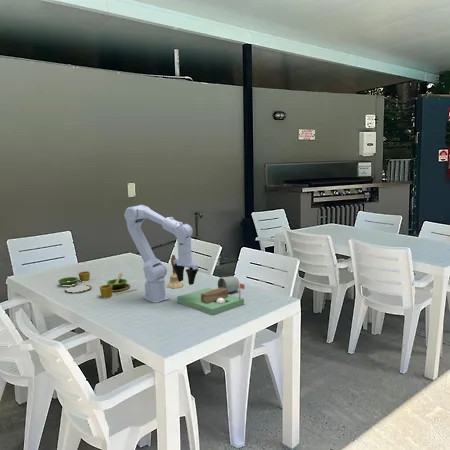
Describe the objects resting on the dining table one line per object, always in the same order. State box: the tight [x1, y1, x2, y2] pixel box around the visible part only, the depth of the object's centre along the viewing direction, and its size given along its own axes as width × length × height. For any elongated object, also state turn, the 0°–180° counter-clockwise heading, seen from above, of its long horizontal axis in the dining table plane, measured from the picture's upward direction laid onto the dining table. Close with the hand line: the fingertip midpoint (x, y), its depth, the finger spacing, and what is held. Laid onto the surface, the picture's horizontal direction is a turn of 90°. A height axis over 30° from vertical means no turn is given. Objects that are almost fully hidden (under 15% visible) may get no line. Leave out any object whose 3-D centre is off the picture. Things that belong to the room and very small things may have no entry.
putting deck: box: [176, 282, 246, 316], centre depth 192 cm, size 26×18×10 cm
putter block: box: [201, 287, 229, 303], centre depth 191 cm, size 4×12×4 cm, turn 132°
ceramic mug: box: [217, 275, 240, 294], centre depth 209 cm, size 11×8×8 cm
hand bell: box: [166, 254, 184, 289], centre depth 220 cm, size 8×8×16 cm
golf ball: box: [216, 298, 225, 304], centre depth 188 cm, size 4×4×4 cm
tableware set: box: [57, 270, 138, 299], centre depth 222 cm, size 41×28×6 cm
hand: (186, 282), depth 193 cm, fingers open, 7 cm apart
